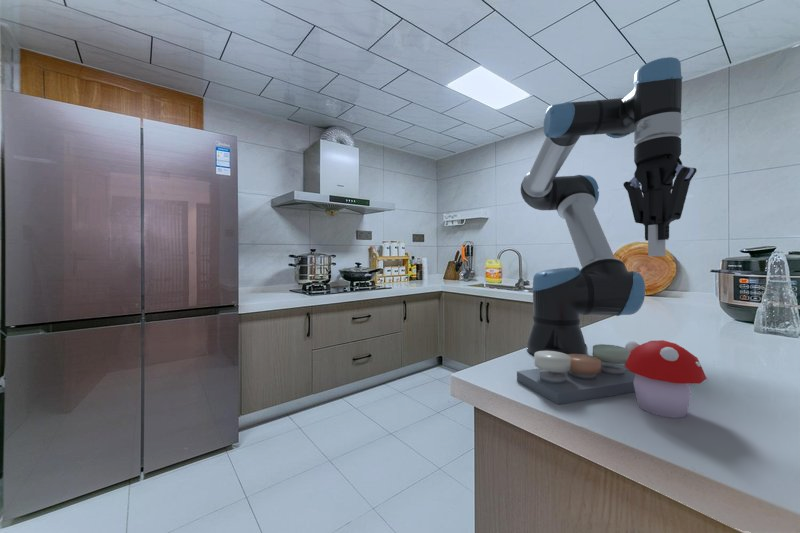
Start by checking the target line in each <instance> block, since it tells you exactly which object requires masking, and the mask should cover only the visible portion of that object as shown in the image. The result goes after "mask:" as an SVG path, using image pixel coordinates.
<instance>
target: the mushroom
mask: <svg viewBox="0 0 800 533" xmlns="http://www.w3.org/2000/svg"><path fill="white" fill-rule="evenodd" d="M624 348H626V350H627V351H628V352H629V353H630V355H629V357H628V359H627V361H626V364H624V366H625V368H626V369H628V370H629V371H630V372H633V373H636V375H635V378H634V382H633V383H634V388H635V392H634V393H635V397H636V402H637V406H638V407H639V408H641V409H642V410H643V411H646V412H647V413H650V414H652V415H653V414H654V415H656V416H660V417H665V418H671V419H673V418H675V419H679V418H680V419H681V418H684V417H686V415H687V413H688V408H689V405H690V400H691V396H692V392H691V391H692V390H691V387H690V384H696V385H698V384H702V383H703V382H704V381H705V380H707V377H706V373H705V371H704V370H703V367H702V365H701V363H700V360H699V358H698V357H697V356H695V354H694V353H691V352H690V351H688V350H687V349H686V348H684V347H683V346H680V345H679V344H677V343H674V342H671V341H667V340H664V339H662V340H649V341H647V342H644V343H642V344H639V343H638V342H636V341H629V342H626V344H625V347H624Z"/></svg>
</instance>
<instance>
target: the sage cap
mask: <svg viewBox="0 0 800 533" xmlns="http://www.w3.org/2000/svg"><path fill="white" fill-rule="evenodd" d="M629 355H630V353H629V352H628V351H627V350H626V347H623V346H620V345H614V344H601V343H600V344H594V345H593V346H592V356H594V357H597V358H599V359H600V360H601V361H603V362H607V363H614V364H618V365H623V364H624V365H625V364H626V361H627V359H628V357H629Z"/></svg>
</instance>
